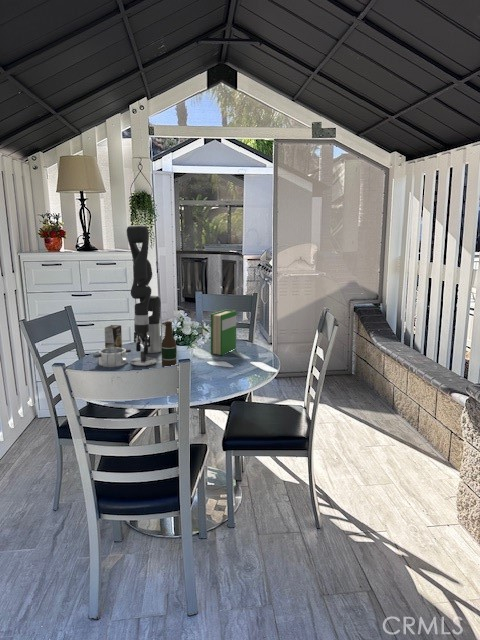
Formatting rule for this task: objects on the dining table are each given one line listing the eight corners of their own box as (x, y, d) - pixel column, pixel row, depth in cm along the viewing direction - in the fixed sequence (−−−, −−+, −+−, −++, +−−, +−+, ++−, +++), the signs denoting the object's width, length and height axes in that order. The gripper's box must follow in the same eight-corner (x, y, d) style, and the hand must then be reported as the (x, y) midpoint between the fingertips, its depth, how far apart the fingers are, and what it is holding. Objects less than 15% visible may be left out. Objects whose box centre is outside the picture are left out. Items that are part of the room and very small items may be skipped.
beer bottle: (179, 365, 244) (179, 321, 240) (170, 369, 238) (169, 323, 233) (168, 363, 248) (167, 319, 243) (158, 367, 241) (157, 322, 237)
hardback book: (221, 356, 264) (222, 315, 259) (210, 354, 267) (210, 314, 263) (235, 349, 279) (236, 310, 275) (225, 348, 283) (225, 309, 278)
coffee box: (115, 356, 261) (114, 328, 258) (105, 355, 262) (103, 327, 259) (122, 352, 270) (121, 325, 267) (112, 351, 271) (111, 324, 268)
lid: (148, 358, 257) (148, 347, 256) (161, 364, 247) (161, 352, 245) (126, 363, 248) (125, 351, 247) (138, 369, 238) (137, 356, 237)
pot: (124, 357, 258) (124, 345, 257) (136, 363, 248) (135, 350, 247) (89, 363, 246) (88, 350, 244) (100, 369, 235) (99, 356, 234)
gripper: (154, 324, 240) (154, 354, 243) (141, 320, 251) (142, 349, 254) (141, 325, 235) (141, 356, 238) (129, 321, 246) (129, 351, 249)
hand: (142, 352), depth 246 cm, fingers open, 8 cm apart
